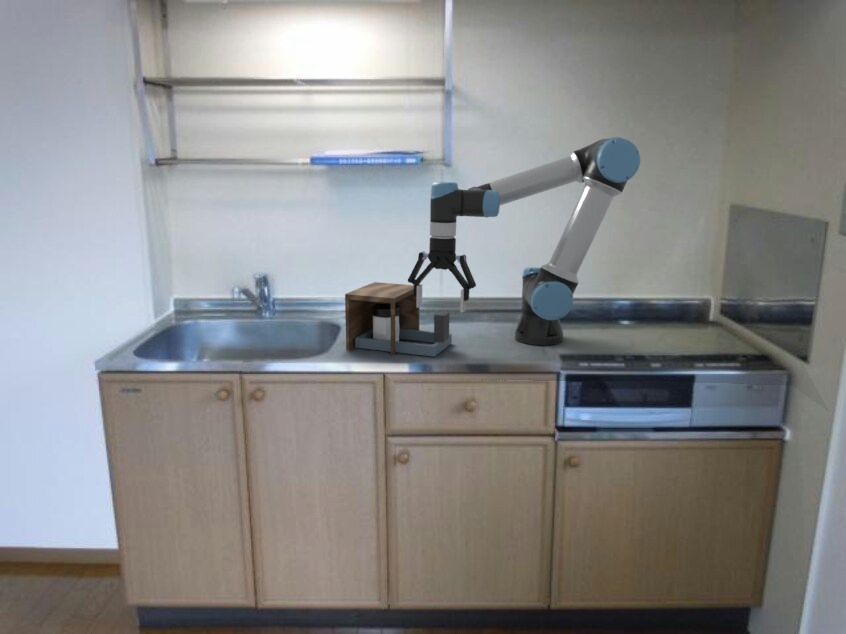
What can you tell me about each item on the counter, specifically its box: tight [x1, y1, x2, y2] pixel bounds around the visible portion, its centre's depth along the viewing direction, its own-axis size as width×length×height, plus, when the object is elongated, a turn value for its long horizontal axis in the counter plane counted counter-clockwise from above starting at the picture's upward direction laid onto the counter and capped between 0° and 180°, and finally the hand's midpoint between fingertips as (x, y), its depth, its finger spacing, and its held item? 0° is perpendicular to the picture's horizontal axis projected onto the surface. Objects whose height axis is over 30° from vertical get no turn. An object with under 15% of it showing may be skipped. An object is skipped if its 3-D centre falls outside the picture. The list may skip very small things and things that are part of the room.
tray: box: [354, 310, 453, 358], centre depth 203 cm, size 26×15×11 cm, turn 69°
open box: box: [344, 281, 421, 356], centre depth 205 cm, size 16×20×17 cm
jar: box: [373, 303, 400, 342], centre depth 205 cm, size 9×8×12 cm
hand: (440, 309), depth 197 cm, fingers open, 13 cm apart
